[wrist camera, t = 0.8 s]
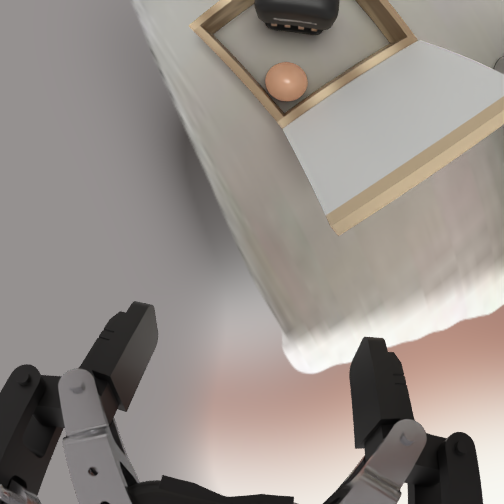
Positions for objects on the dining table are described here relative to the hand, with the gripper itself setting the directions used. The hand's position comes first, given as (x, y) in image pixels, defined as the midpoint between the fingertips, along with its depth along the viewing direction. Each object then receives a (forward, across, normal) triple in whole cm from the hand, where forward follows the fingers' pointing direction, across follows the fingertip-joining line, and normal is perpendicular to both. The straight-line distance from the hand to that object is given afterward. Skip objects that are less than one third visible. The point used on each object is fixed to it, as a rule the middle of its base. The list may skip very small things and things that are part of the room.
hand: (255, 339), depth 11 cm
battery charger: (+27, 0, -16) cm, 32 cm away
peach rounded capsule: (+27, +1, -9) cm, 29 cm away
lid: (+15, -8, -9) cm, 19 cm away
